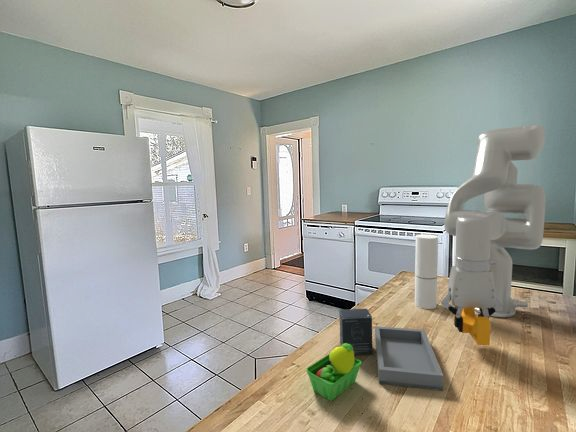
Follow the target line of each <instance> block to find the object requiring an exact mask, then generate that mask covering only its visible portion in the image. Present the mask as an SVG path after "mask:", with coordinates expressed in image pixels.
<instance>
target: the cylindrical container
mask: <svg viewBox="0 0 576 432" xmlns="http://www.w3.org/2000/svg"><path fill="white" fill-rule="evenodd" d="M438 250H439V236H438V235H435V234H427V233H426V234H423V233H422V234H416V235H415V250H414V251H415V255H414V256H415V257H414V258H415V261H414V262H415V263H414V306H415V307H417V308H420V309H423V308H424V310H433V309H436V308H437V300H438V299H437V298H438V297H437V296H438V294H437V293H438V259H439V257H438V254H439V253H438V252H439V251H438Z"/></svg>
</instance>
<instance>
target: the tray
mask: <svg viewBox="0 0 576 432" xmlns="http://www.w3.org/2000/svg"><path fill="white" fill-rule="evenodd" d="M374 343H375V344H374V346H375V354H376V355H375V356H376V367H377V375H378V376H377V378H378V385H379V384H380V385H387V386H397V387H406V388H414V389H424V390H433V391H442V392H443V391H444V374H443V372H442V369H441V366H440V364H439V361H438V359H437V357H436V355H435V352H434V350H433V348H432V345H431V342H430V340H429V338H428V335H427V333H426V331H425V329H421V328H420V329H419V328H418V329H417V328H405V327H404V328H403V327H390V326H378V325H377V326H376V325H375V326H374Z"/></svg>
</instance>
